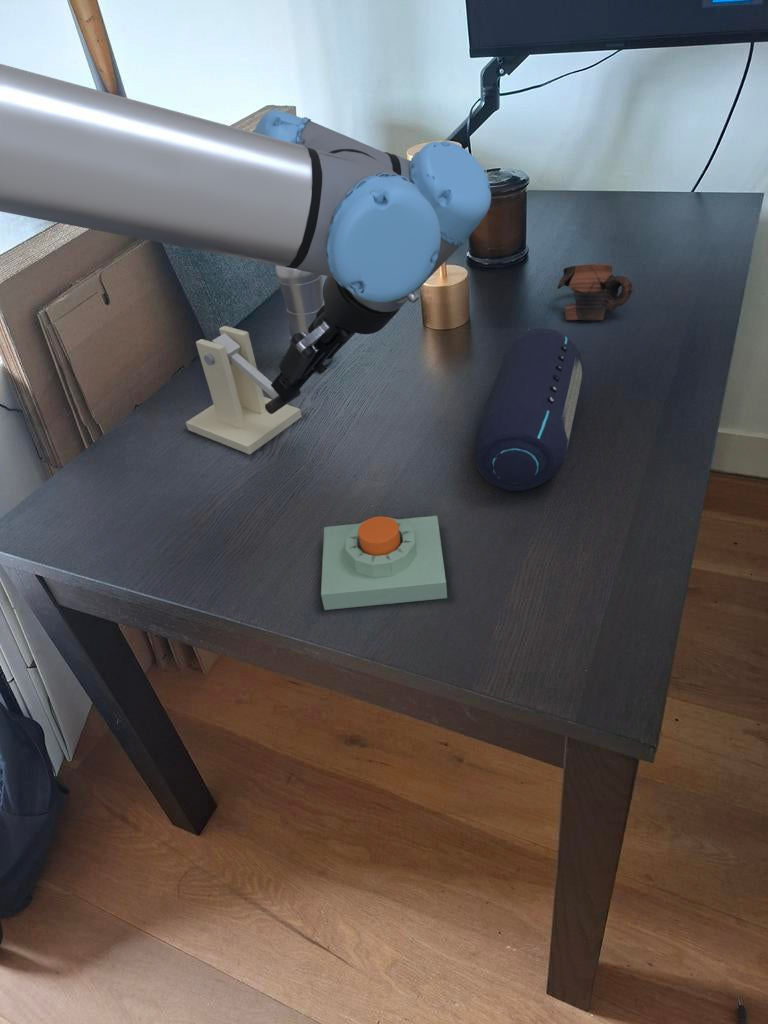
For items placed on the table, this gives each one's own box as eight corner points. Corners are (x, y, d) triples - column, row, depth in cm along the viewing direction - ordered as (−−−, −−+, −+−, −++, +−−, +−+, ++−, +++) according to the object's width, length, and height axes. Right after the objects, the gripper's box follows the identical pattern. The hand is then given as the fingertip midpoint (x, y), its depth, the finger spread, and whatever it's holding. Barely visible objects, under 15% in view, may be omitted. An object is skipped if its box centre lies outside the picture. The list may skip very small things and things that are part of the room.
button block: (324, 610, 74) (317, 581, 71) (327, 542, 82) (321, 513, 79) (447, 598, 73) (445, 568, 71) (438, 531, 81) (436, 502, 79)
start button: (360, 558, 74) (358, 544, 73) (360, 531, 77) (357, 518, 76) (401, 554, 74) (399, 540, 72) (399, 527, 77) (397, 514, 76)
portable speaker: (560, 509, 82) (564, 431, 75) (469, 499, 85) (465, 424, 78) (584, 389, 100) (589, 318, 93) (508, 385, 103) (508, 316, 96)
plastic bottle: (312, 349, 117) (287, 218, 105) (346, 358, 114) (325, 223, 101) (284, 367, 113) (255, 234, 101) (319, 377, 110) (293, 240, 97)
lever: (298, 399, 96) (302, 387, 94) (271, 419, 93) (275, 406, 91) (230, 341, 98) (232, 328, 96) (201, 358, 95) (203, 345, 93)
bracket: (302, 417, 102) (284, 329, 94) (249, 455, 96) (225, 365, 88) (240, 395, 108) (218, 312, 100) (188, 430, 103) (160, 344, 95)
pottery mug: (545, 322, 117) (546, 267, 115) (574, 326, 124) (575, 273, 122) (620, 317, 109) (622, 257, 107) (646, 320, 116) (648, 264, 114)
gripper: (355, 340, 70) (264, 441, 89) (434, 286, 78) (335, 390, 97) (303, 276, 70) (223, 391, 89) (388, 228, 77) (297, 344, 96)
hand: (281, 390), depth 93 cm, fingers closed
